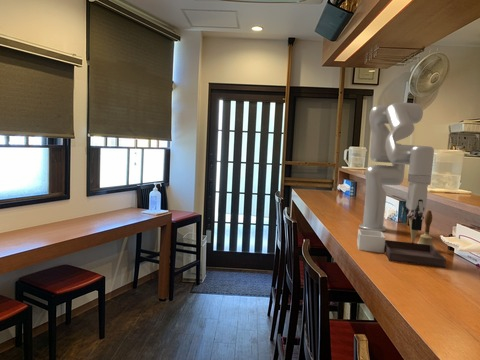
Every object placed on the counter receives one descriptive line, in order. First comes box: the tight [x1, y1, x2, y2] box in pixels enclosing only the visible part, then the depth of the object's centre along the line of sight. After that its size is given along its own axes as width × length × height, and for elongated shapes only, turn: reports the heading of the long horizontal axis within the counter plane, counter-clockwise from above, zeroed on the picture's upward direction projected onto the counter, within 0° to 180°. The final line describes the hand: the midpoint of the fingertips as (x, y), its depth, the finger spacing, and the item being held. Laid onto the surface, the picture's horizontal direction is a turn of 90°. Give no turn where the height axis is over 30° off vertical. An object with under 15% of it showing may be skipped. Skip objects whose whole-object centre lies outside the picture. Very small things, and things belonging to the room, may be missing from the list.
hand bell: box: [417, 209, 435, 248], centre depth 139 cm, size 8×8×16 cm
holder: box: [356, 228, 386, 254], centre depth 137 cm, size 9×9×6 cm
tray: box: [384, 239, 447, 269], centre depth 129 cm, size 18×18×3 cm
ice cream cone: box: [406, 209, 425, 246], centre depth 128 cm, size 6×6×15 cm
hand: (414, 227), depth 128 cm, fingers closed on ice cream cone, 5 cm apart
